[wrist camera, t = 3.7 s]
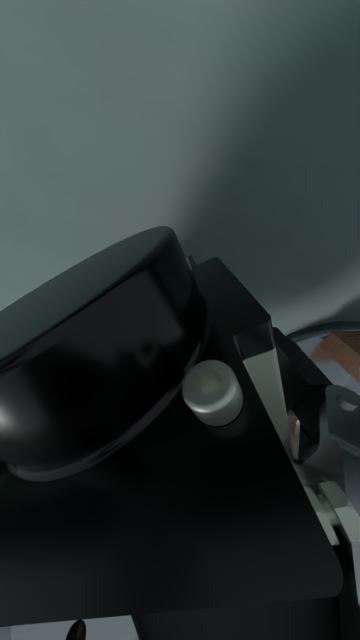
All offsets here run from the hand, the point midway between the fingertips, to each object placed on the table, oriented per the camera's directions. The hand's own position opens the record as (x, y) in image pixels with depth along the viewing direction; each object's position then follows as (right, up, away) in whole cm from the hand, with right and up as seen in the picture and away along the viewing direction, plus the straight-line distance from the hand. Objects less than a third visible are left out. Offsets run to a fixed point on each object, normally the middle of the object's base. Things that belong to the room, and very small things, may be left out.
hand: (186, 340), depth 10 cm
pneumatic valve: (0, +2, +3) cm, 4 cm away
